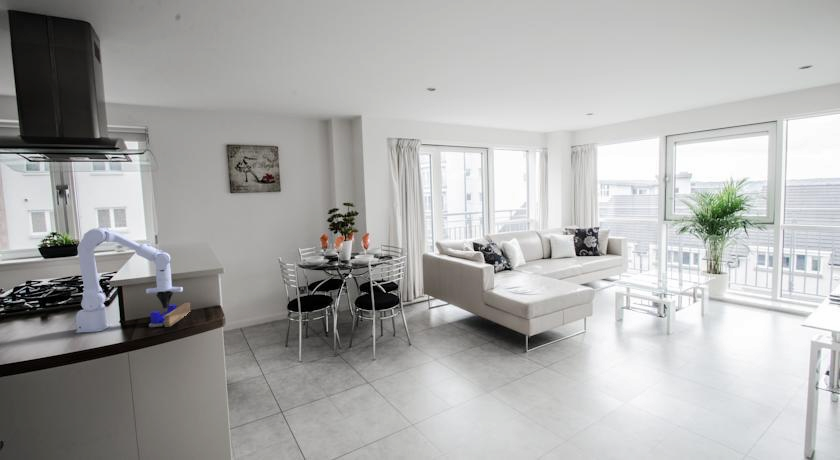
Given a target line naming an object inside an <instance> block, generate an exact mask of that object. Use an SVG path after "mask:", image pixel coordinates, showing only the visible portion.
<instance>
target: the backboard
mask: <svg viewBox="0 0 840 460" xmlns="http://www.w3.org/2000/svg"><path fill="white" fill-rule="evenodd" d="M189 312H192V311H191V302H184V303H183V304H181V305H179V306H178V307H176V309H175V310H173V311H171V312H170V313H168V314H166V315H165V316H164V319H165V326H164V327H165V328H168V327H169V328H171V327H172V326H173V325H175V324H176V323H178V322H179V321H180V320H182V319H183V318H184V316H185V317H186V316H187V314H188V313H189ZM189 314H190V313H189ZM189 314H188V315H189Z"/></svg>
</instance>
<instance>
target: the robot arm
mask: <svg viewBox="0 0 840 460" xmlns="http://www.w3.org/2000/svg"><path fill="white" fill-rule="evenodd" d="M102 243H117V244H118V245H122V246H124V247H126V248H129V249H131V250H133V251H134V252H135V253H136V255H137V256H139V257H142V258H143V259H145V260H147V261H150V262H153V263H154V265H155V280H156V287H154V288H153V287H151V288H146V289H145V293H146V294H156V298H158V300H159V301H160V303H161V305H162V308H163V309H168V307H169V305H170V302H171V299H172V296H173V295H174V294H173V293H177V292H178V293H181V292H183V291H184V287H183V286H173V284H172V283H173V282H172V269H171V263H170V262H171V260H172V259H171V255H170V254H169V253H168V252H167V251H163V250H162V249H157V248H155V247H153V246H152V244H151V243H142V244H141V243H139V242H137V241H134V240H133V239H131V238H128V237H127V236H125V235H123V234H121V233H119V232H117V231H116V230H113V229H109V228H108V227H103V226H99V227H97V228H92V229H89V230H88V231H87V232H85V233H84V234H83V236H82V238H81V240H80V242H79V243H78V245H77V248H76V249H77V253H78V254H77V255H78V261H79V266H80V272H81V278H82V282H83V292H82V299H81V302H80V306H81V307H82V309H80V310H79V311H77V313H76V315H75V321H76V322H75V323H76V331H75V333H76V334H77V333H80V334H81V333H93V332H94V333H95V332H102V331H104V330H106V329H108V328H109V327H112V326H113V324H112V323H111V324H110V323H109V324H108V322H107V312H106V311H107V308H106V305H105V304H104V303H105V302H106V300H107V296H106V294H105V293H104V291H103V288H102V287H101V285H100V280H99V274H98V269H97V262H96V256H95V251H94V250H95V249H97V248H98V247H99V246H100V245H101V244H102Z"/></svg>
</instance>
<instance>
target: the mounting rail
mask: <svg viewBox="0 0 840 460" xmlns="http://www.w3.org/2000/svg"><path fill="white" fill-rule="evenodd" d="M155 327H156V328H157V327H165V321H163V323H151V322H150V323H149V324H148V328H155Z"/></svg>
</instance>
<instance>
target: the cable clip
mask: <svg viewBox="0 0 840 460" xmlns="http://www.w3.org/2000/svg"><path fill="white" fill-rule="evenodd" d="M176 308H177V304H169V307H168V308H167V310H166V311H164V312H162V314H161V312H160V311H157V310H155V311H150V324H151V323H163V321H165V319H164V316H165V315H166V314H168V313H170V312H171V311H173V310H175V309H176Z"/></svg>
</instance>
